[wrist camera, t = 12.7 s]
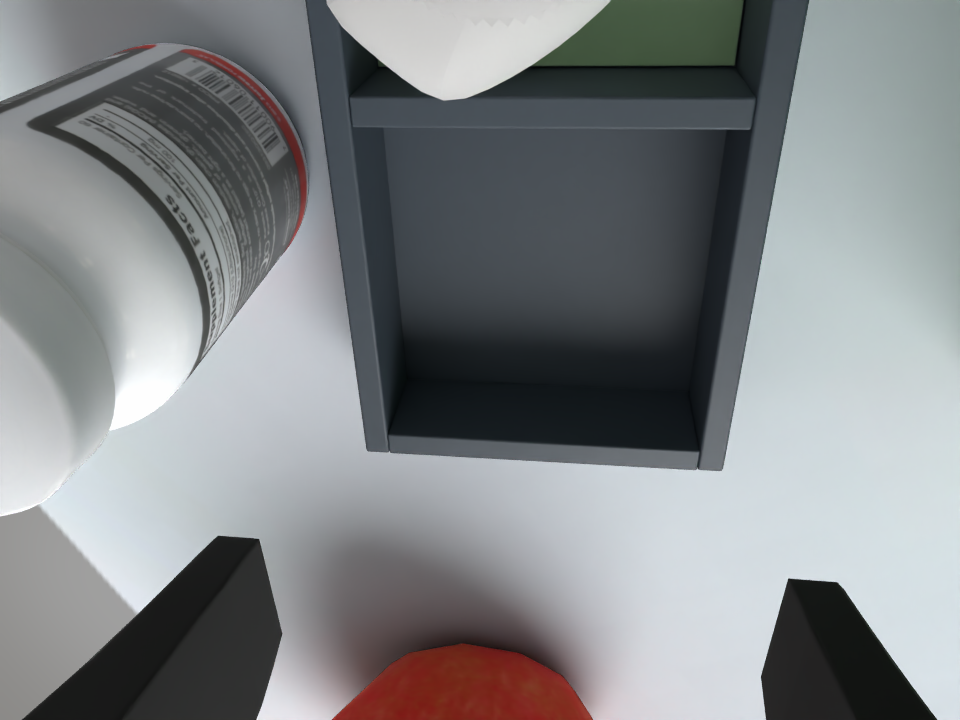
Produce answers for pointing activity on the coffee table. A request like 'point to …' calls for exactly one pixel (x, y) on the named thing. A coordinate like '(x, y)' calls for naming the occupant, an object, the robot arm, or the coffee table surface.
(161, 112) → the pill bottle
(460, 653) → the apple
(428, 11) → the eye dropper bottle
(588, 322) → the dark grey shallow tray
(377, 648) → the coffee table surface
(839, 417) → the coffee table surface
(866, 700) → the robot arm
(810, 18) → the coffee table surface
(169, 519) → the coffee table surface
